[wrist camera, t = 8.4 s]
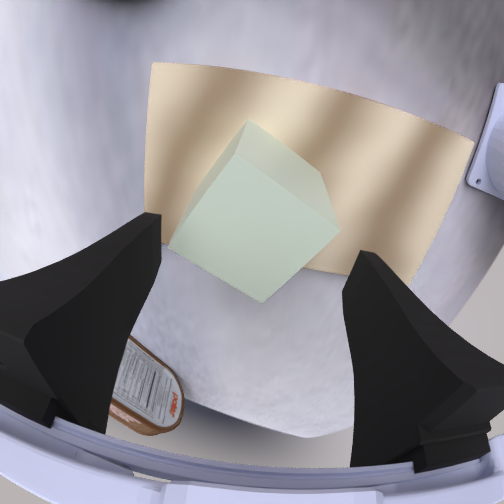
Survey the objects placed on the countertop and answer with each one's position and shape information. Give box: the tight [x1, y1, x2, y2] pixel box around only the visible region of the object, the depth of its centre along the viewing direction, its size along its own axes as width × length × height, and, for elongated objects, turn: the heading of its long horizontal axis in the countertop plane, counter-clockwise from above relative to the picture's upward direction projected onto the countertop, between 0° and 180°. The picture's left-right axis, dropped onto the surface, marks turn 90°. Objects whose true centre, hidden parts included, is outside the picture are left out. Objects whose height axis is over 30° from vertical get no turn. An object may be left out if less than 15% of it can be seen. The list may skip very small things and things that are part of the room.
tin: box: [109, 336, 184, 436], centre depth 27 cm, size 15×3×8 cm, turn 33°
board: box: [144, 62, 474, 286], centre depth 19 cm, size 20×12×1 cm, turn 80°
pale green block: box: [167, 118, 340, 304], centre depth 16 cm, size 5×5×7 cm
